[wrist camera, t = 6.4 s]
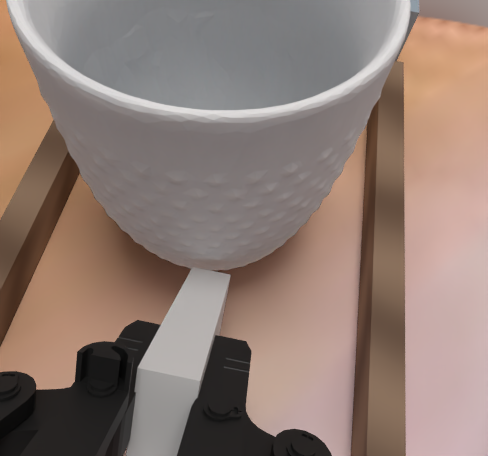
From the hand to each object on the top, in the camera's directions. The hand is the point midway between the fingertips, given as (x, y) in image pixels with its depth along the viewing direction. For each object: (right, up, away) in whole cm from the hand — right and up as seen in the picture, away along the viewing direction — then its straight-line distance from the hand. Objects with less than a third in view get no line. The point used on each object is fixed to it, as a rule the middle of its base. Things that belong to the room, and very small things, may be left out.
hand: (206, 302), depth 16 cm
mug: (0, +4, +7) cm, 9 cm away
